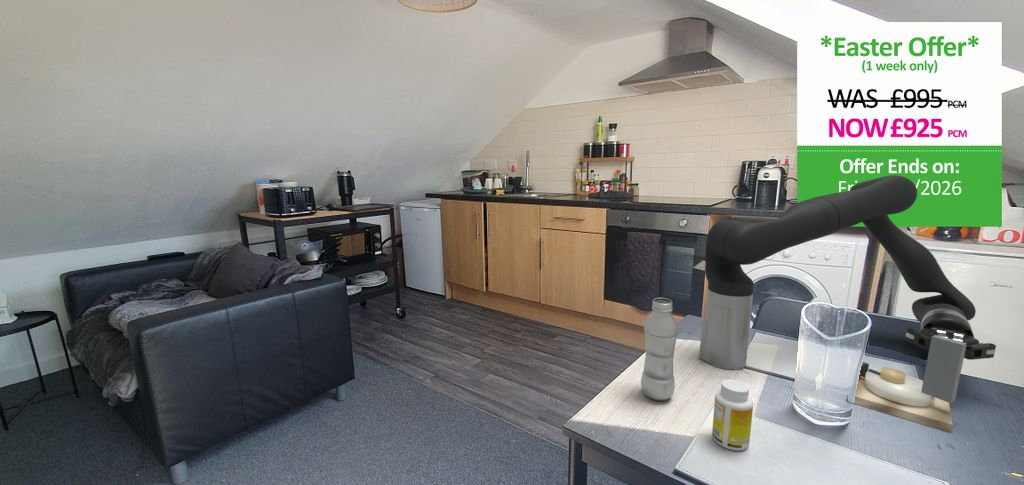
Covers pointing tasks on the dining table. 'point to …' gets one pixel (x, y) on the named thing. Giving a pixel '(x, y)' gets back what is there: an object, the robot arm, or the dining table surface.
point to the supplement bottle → (732, 415)
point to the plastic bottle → (659, 351)
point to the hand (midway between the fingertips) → (951, 357)
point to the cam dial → (937, 377)
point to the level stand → (904, 406)
